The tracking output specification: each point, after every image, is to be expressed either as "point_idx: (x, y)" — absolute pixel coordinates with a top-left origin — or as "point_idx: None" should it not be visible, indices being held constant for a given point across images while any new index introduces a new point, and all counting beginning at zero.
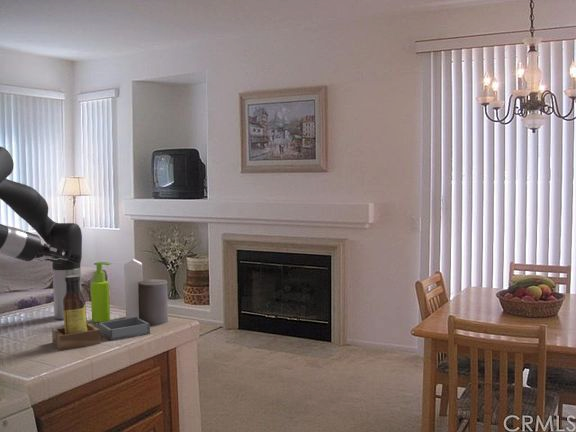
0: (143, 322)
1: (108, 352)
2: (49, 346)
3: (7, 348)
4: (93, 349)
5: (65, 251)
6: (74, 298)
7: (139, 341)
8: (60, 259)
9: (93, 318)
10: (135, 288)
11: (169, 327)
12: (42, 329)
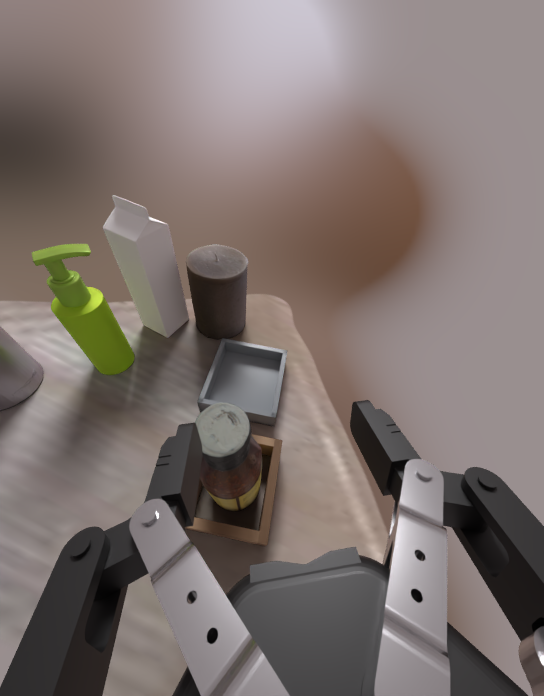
0: (266, 350)
1: (351, 472)
2: (206, 552)
3: (108, 682)
4: (310, 483)
5: (440, 495)
6: (256, 465)
7: (318, 396)
8: (195, 448)
9: (108, 371)
10: (168, 280)
11: (273, 326)
12: (36, 484)
